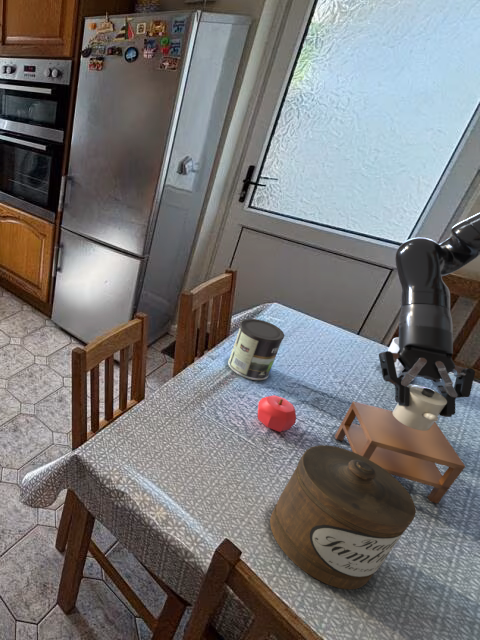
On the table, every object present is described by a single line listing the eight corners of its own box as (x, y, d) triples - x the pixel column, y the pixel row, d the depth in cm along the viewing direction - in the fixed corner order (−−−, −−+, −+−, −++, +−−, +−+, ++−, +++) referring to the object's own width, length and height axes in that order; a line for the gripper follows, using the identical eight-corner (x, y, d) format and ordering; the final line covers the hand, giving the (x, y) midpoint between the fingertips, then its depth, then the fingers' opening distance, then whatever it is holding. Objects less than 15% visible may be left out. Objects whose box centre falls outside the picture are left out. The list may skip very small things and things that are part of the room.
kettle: (387, 406, 88) (404, 377, 85) (422, 414, 86) (441, 385, 83) (403, 433, 82) (422, 404, 78) (441, 444, 80) (462, 414, 76)
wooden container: (314, 595, 70) (367, 514, 60) (251, 509, 83) (287, 432, 73) (393, 585, 71) (458, 504, 61) (319, 502, 84) (362, 425, 75)
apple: (260, 406, 107) (270, 383, 104) (296, 426, 102) (307, 402, 98) (247, 420, 103) (256, 396, 100) (283, 442, 97) (294, 417, 94)
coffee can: (271, 367, 121) (287, 327, 115) (264, 386, 114) (281, 345, 108) (232, 352, 127) (245, 314, 121) (223, 369, 120) (236, 329, 114)
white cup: (380, 376, 117) (395, 348, 112) (375, 361, 123) (390, 334, 118) (418, 387, 113) (436, 359, 108) (412, 371, 118) (428, 343, 114)
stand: (411, 457, 93) (435, 421, 88) (437, 503, 84) (465, 466, 79) (334, 435, 99) (352, 401, 94) (350, 477, 89) (371, 440, 84)
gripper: (390, 317, 86) (388, 398, 81) (487, 335, 80) (490, 423, 76) (371, 325, 92) (368, 400, 88) (458, 341, 87) (460, 423, 82)
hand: (424, 410), depth 82 cm, fingers closed on kettle, 5 cm apart
